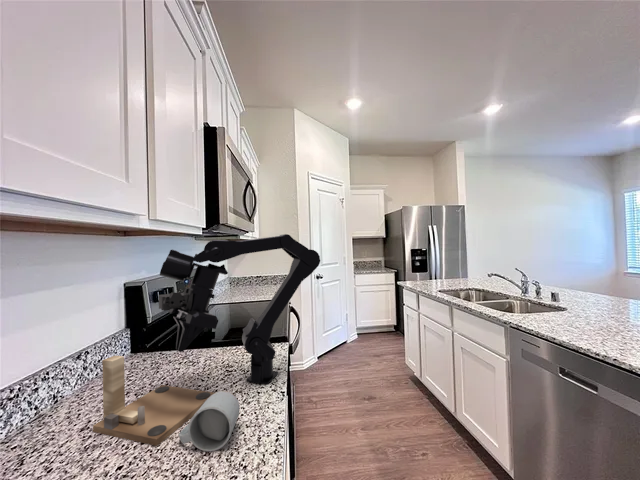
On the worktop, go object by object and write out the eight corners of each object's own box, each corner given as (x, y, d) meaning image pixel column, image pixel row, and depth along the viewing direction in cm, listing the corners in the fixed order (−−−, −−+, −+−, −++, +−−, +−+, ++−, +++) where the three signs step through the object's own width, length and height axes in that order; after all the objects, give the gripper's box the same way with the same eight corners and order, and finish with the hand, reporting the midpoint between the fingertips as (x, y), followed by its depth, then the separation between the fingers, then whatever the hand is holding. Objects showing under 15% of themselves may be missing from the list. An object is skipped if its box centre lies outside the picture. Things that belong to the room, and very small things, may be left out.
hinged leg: (142, 417, 60) (141, 358, 60) (131, 424, 57) (130, 363, 57) (115, 412, 62) (114, 355, 62) (103, 419, 59) (102, 360, 59)
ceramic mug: (242, 422, 60) (240, 384, 60) (232, 450, 51) (230, 407, 51) (189, 426, 59) (188, 388, 59) (170, 455, 51) (169, 411, 51)
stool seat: (162, 389, 74) (162, 372, 74) (215, 397, 69) (215, 379, 69) (93, 431, 58) (92, 409, 58) (156, 446, 53) (156, 421, 53)
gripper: (160, 275, 76) (135, 336, 72) (181, 280, 62) (152, 356, 58) (201, 287, 83) (180, 343, 78) (228, 293, 68) (205, 362, 64)
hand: (179, 350), depth 70 cm, fingers closed
